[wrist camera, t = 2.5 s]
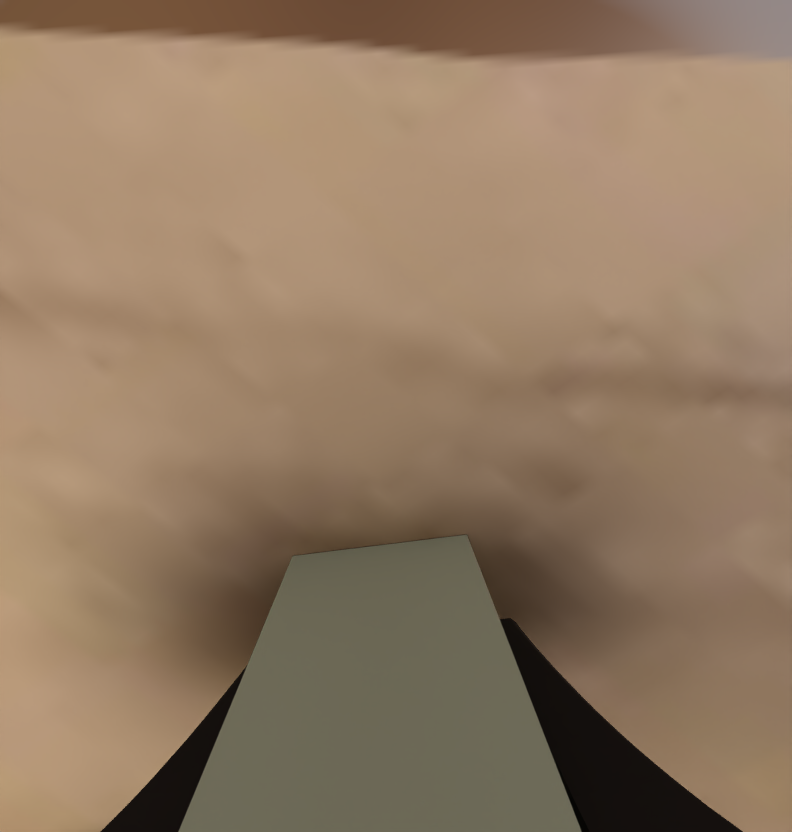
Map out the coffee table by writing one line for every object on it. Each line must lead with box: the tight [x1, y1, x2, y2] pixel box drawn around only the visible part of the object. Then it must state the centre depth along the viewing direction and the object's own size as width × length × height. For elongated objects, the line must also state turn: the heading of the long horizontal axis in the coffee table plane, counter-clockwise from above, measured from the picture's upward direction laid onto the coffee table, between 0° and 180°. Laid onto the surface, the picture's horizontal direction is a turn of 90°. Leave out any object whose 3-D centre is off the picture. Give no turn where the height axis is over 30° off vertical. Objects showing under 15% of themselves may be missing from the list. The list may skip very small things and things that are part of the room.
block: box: [179, 535, 581, 832], centre depth 8 cm, size 4×4×7 cm
